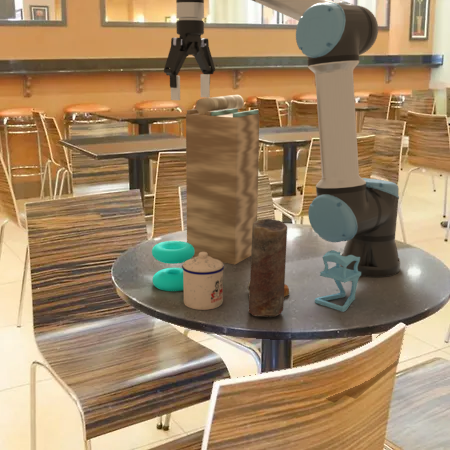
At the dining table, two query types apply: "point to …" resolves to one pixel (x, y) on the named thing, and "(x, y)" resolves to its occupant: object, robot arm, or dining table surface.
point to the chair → (340, 278)
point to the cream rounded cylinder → (219, 103)
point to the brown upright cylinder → (267, 268)
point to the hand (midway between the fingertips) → (190, 98)
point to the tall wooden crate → (222, 182)
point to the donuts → (172, 255)
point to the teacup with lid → (203, 282)
